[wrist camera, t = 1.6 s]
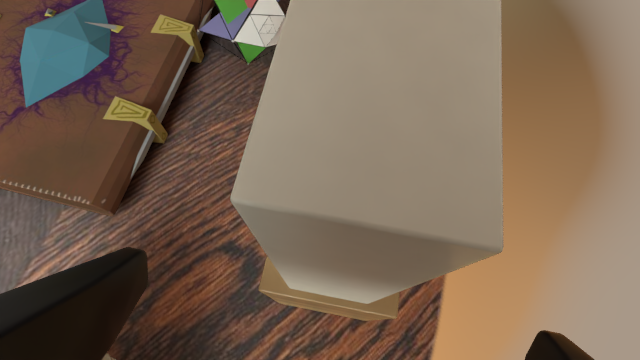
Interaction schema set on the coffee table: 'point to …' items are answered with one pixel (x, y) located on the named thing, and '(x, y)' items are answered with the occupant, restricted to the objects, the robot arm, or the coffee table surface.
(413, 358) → the coffee table surface
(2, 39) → the book
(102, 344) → the robot arm
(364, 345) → the coffee table surface
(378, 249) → the cream rectangular block
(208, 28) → the geometric puzzle
